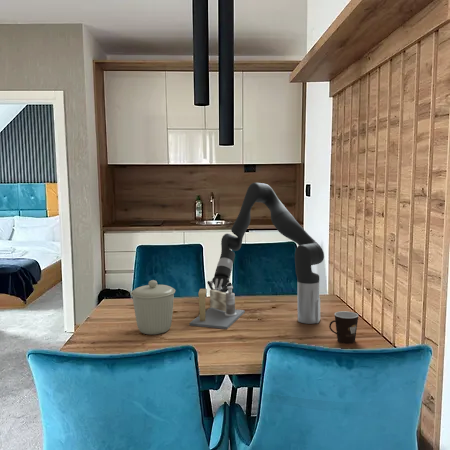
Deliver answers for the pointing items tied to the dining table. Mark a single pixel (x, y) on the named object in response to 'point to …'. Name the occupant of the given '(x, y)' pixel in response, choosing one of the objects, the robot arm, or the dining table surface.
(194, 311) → the dining table surface
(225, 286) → the robot arm
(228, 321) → the board
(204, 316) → the post
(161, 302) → the canister
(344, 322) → the coffee mug
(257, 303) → the dining table surface
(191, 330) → the dining table surface
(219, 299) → the white wavy panel
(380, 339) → the dining table surface
